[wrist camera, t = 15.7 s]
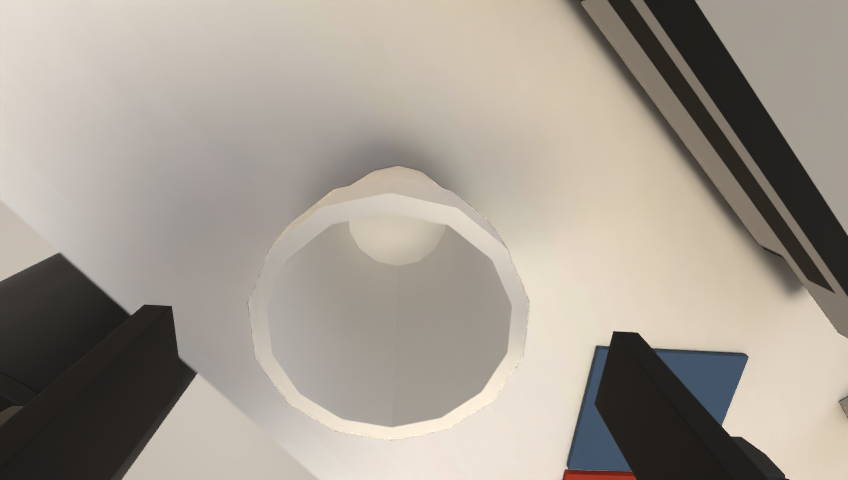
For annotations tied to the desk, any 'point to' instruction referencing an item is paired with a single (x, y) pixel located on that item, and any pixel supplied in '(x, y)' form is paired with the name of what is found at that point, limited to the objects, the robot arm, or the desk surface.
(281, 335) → the foam cup
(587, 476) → the red mat
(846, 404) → the cassette player
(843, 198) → the game console
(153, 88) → the desk surface
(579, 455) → the blue mat
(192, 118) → the desk surface
